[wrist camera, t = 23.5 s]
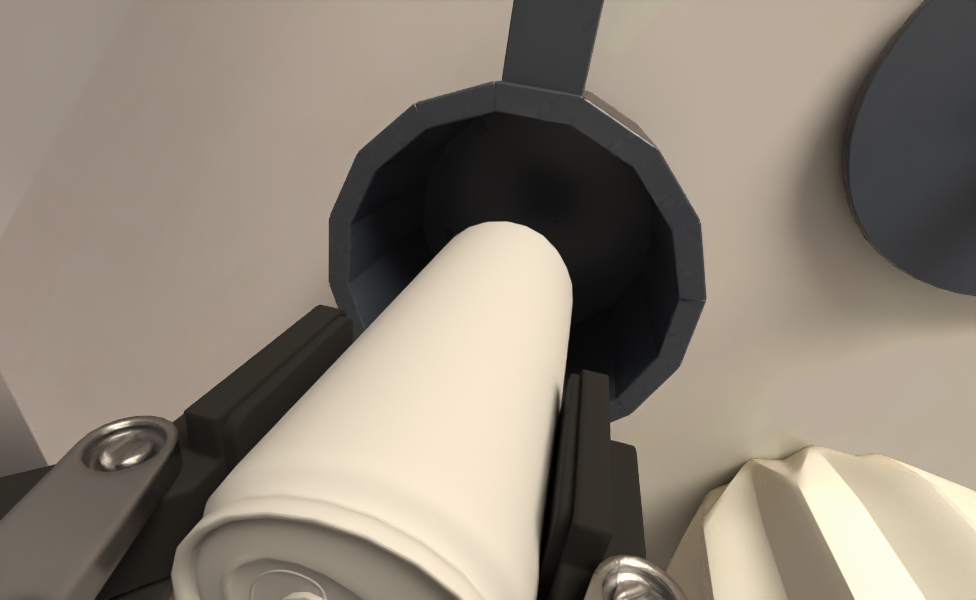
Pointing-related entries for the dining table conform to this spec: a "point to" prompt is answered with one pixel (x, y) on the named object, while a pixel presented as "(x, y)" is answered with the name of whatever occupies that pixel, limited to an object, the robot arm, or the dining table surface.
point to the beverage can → (408, 447)
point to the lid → (920, 148)
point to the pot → (534, 202)
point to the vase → (830, 533)
